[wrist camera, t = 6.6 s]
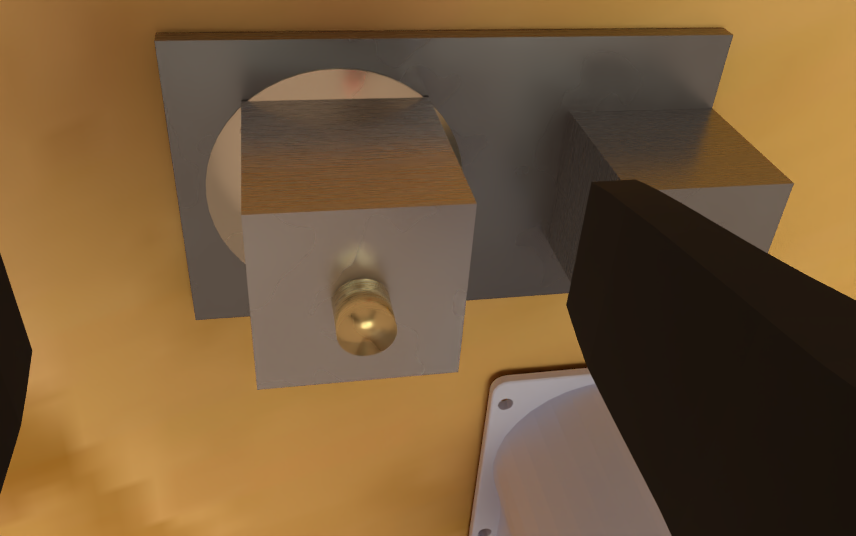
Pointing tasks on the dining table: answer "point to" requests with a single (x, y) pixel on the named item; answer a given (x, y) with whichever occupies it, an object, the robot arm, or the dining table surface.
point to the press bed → (476, 135)
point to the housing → (353, 240)
